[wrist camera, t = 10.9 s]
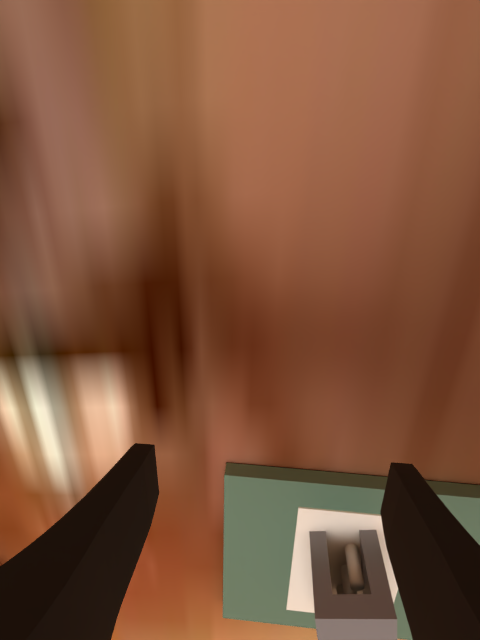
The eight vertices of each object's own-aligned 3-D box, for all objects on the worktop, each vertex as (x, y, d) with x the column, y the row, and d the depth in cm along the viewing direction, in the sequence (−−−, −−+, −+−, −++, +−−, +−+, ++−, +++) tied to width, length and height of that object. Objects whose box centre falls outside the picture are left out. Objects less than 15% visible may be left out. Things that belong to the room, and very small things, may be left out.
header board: (499, 486, 24) (533, 541, 21) (443, 628, 30) (462, 688, 26) (226, 462, 25) (218, 510, 22) (224, 603, 31) (217, 657, 28)
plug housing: (376, 529, 25) (397, 619, 20) (378, 602, 27) (397, 695, 23) (309, 531, 25) (315, 618, 21) (318, 602, 28) (325, 693, 24)
